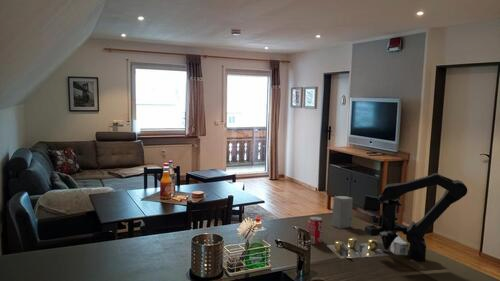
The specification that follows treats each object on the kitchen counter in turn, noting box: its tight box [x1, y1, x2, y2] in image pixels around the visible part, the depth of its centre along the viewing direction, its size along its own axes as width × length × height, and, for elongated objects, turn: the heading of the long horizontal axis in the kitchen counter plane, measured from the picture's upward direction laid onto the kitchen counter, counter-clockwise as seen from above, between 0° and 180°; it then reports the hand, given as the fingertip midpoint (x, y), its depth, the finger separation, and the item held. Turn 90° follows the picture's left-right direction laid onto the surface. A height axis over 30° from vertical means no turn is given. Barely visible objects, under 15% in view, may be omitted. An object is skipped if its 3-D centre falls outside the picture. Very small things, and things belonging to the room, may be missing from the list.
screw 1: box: [334, 240, 349, 256], centre depth 156 cm, size 9×4×4 cm, turn 12°
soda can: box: [306, 215, 324, 245], centre depth 169 cm, size 7×7×12 cm
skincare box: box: [331, 195, 354, 230], centre depth 194 cm, size 8×7×16 cm
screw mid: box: [347, 236, 362, 252], centre depth 161 cm, size 9×4×4 cm, turn 12°
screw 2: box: [367, 238, 391, 252], centre depth 161 cm, size 9×4×4 cm, turn 68°
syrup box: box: [390, 232, 409, 256], centre depth 164 cm, size 6×6×14 cm
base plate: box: [326, 242, 389, 259], centre depth 160 cm, size 14×22×1 cm, turn 102°
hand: (386, 249), depth 158 cm, fingers closed
